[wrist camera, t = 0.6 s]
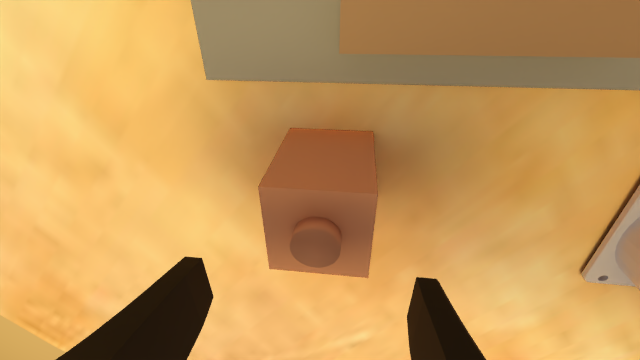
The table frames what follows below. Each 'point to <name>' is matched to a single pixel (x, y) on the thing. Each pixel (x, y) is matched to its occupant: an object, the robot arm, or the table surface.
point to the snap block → (321, 202)
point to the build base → (320, 61)
